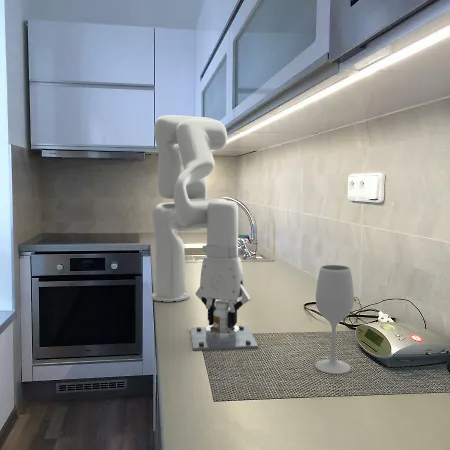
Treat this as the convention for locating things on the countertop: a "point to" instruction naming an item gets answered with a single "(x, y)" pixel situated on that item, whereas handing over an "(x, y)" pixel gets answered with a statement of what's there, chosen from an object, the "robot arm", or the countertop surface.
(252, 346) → the flange plate
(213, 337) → the duct collar
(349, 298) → the wineglass
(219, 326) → the pill bottle
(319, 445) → the countertop surface
